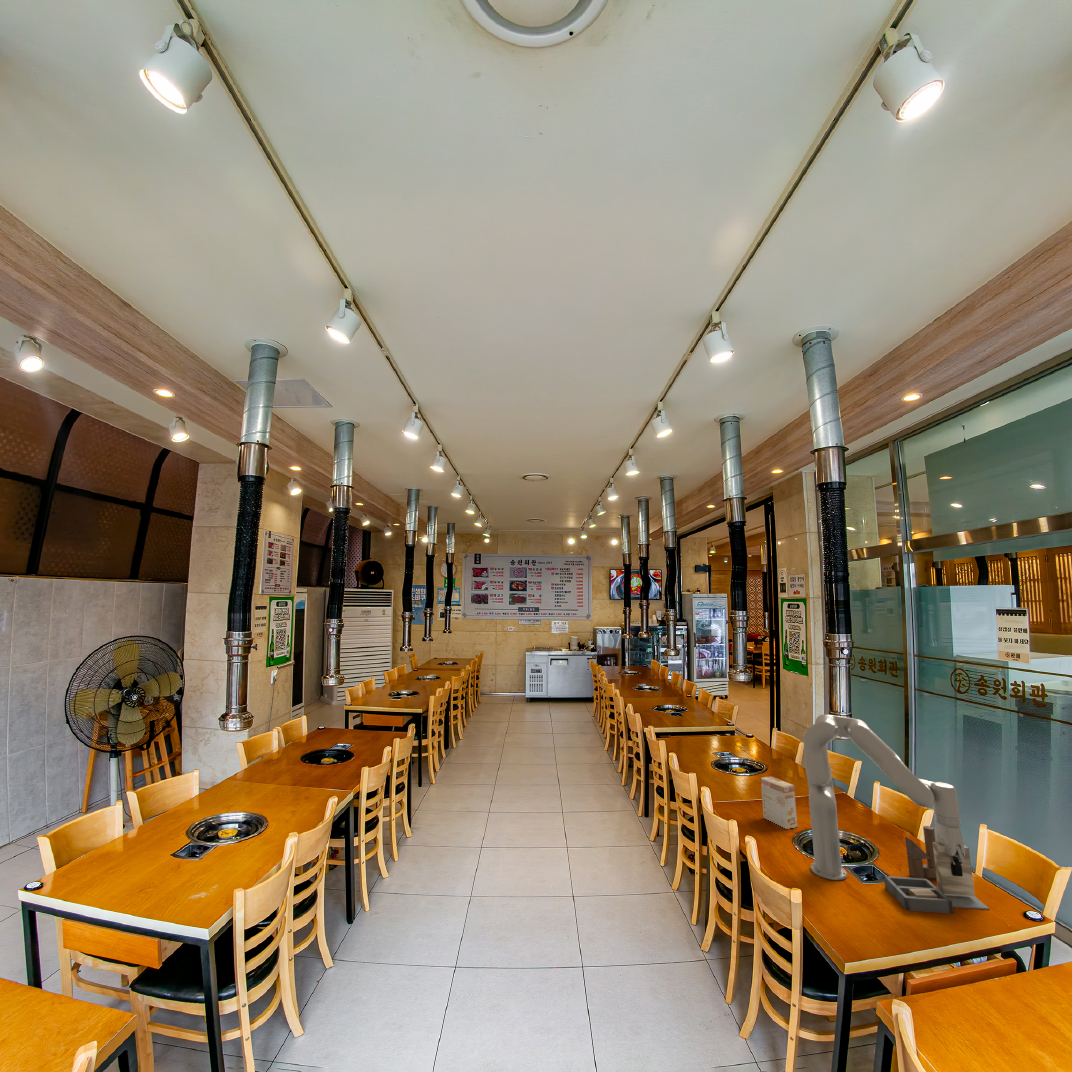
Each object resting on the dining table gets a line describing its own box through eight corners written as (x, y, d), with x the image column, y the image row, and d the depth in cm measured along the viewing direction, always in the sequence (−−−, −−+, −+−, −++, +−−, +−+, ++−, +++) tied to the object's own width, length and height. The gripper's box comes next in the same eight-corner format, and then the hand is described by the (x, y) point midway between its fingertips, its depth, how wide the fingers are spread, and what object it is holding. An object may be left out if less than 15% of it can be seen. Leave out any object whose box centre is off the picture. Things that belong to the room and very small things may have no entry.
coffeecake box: (798, 827, 244) (794, 785, 246) (786, 830, 241) (783, 786, 244) (774, 816, 258) (771, 775, 260) (763, 818, 255) (760, 777, 258)
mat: (927, 888, 191) (927, 886, 191) (966, 890, 188) (966, 889, 188) (947, 906, 179) (947, 905, 179) (989, 909, 177) (989, 908, 177)
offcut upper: (909, 896, 182) (908, 888, 182) (929, 896, 181) (928, 889, 182) (917, 902, 178) (916, 895, 178) (937, 903, 178) (936, 895, 178)
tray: (885, 887, 192) (884, 875, 192) (928, 890, 189) (926, 878, 190) (906, 910, 177) (905, 897, 178) (953, 913, 175) (951, 901, 175)
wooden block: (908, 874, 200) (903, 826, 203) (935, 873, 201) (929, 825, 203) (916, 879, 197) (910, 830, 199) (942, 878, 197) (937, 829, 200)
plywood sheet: (937, 888, 187) (932, 842, 189) (968, 890, 185) (962, 843, 187) (943, 893, 183) (938, 846, 186) (974, 896, 182) (968, 848, 184)
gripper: (923, 810, 196) (929, 861, 194) (949, 828, 180) (956, 884, 178) (944, 811, 195) (951, 862, 193) (973, 829, 179) (980, 885, 176)
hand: (953, 872), depth 185 cm, fingers closed on plywood sheet, 3 cm apart
